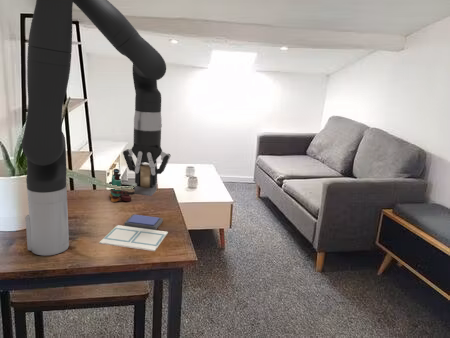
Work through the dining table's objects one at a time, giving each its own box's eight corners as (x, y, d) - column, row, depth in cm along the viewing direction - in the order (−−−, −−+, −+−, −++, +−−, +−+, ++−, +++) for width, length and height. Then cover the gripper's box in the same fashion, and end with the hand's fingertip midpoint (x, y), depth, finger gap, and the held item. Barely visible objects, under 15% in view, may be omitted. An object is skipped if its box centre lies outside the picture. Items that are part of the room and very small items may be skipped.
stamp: (134, 194, 112) (135, 167, 110) (140, 188, 117) (140, 162, 115) (151, 196, 112) (152, 169, 110) (156, 190, 117) (157, 164, 114)
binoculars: (140, 176, 139) (111, 174, 135) (137, 204, 142) (108, 203, 138) (136, 169, 147) (109, 167, 143) (133, 195, 150) (106, 194, 146)
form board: (99, 243, 109) (99, 241, 109) (117, 226, 121) (117, 224, 121) (154, 251, 107) (154, 249, 107) (167, 232, 119) (167, 231, 118)
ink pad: (124, 226, 121) (124, 221, 121) (132, 217, 128) (132, 213, 127) (155, 230, 120) (155, 226, 119) (162, 221, 126) (162, 217, 126)
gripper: (118, 126, 106) (117, 187, 111) (168, 131, 105) (166, 192, 110) (127, 122, 113) (127, 179, 118) (175, 127, 112) (172, 184, 117)
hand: (145, 185), depth 114 cm, fingers closed on stamp, 3 cm apart
